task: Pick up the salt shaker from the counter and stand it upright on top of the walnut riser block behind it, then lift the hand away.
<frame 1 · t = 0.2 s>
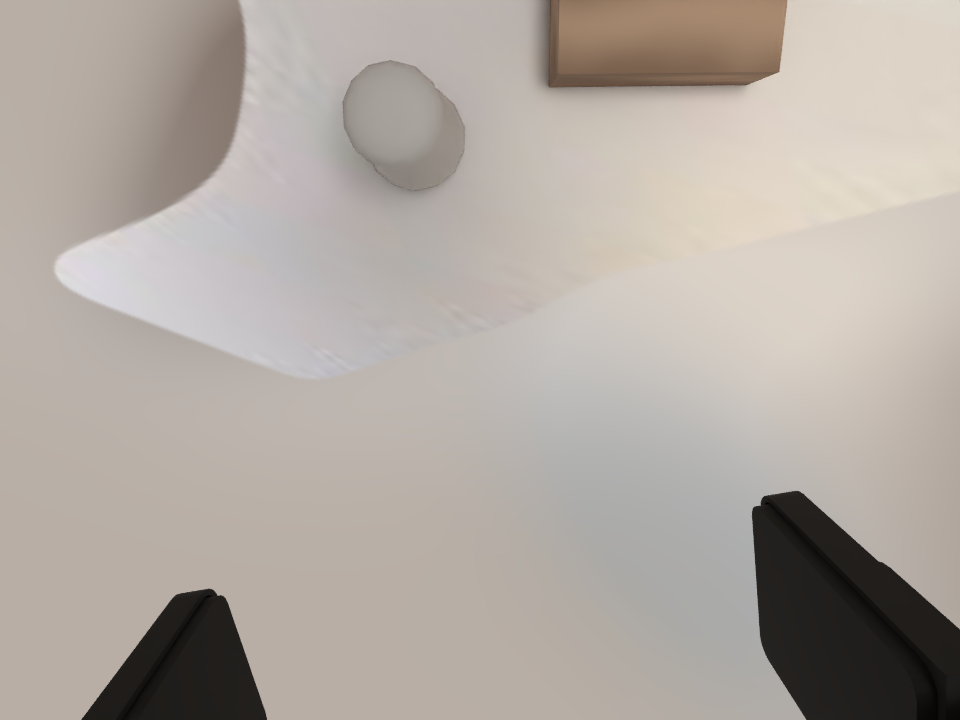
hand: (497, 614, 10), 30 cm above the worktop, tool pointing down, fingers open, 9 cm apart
salt shaker: (418, 141, 37), on the worktop
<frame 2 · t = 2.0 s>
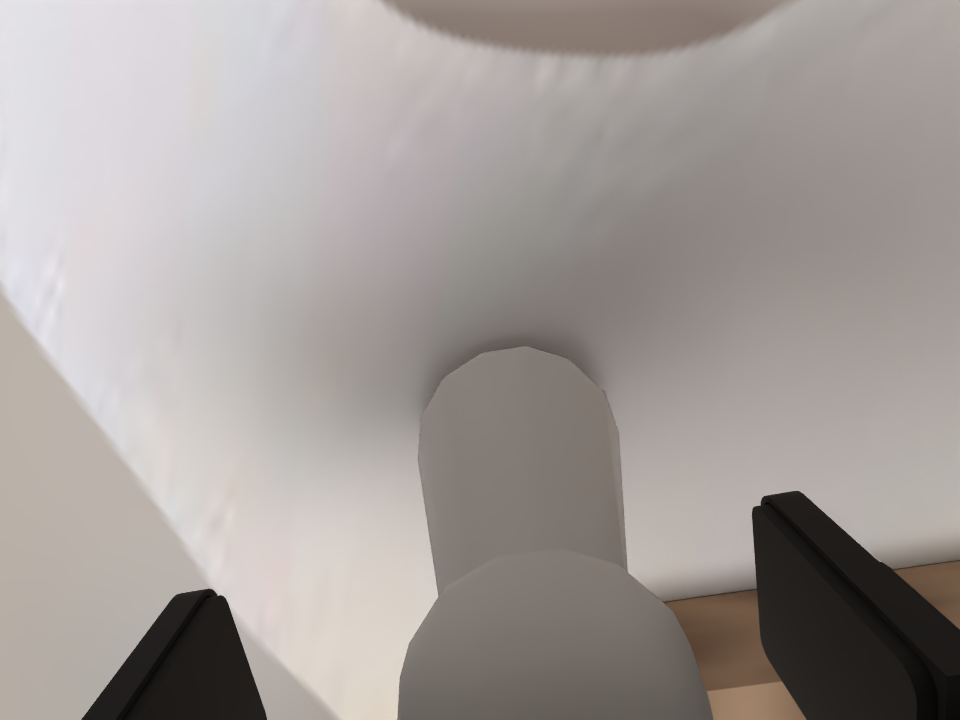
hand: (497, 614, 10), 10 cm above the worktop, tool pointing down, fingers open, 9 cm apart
salt shaker: (514, 413, 20), on the worktop
walnut riser block: (807, 717, 23), on the worktop
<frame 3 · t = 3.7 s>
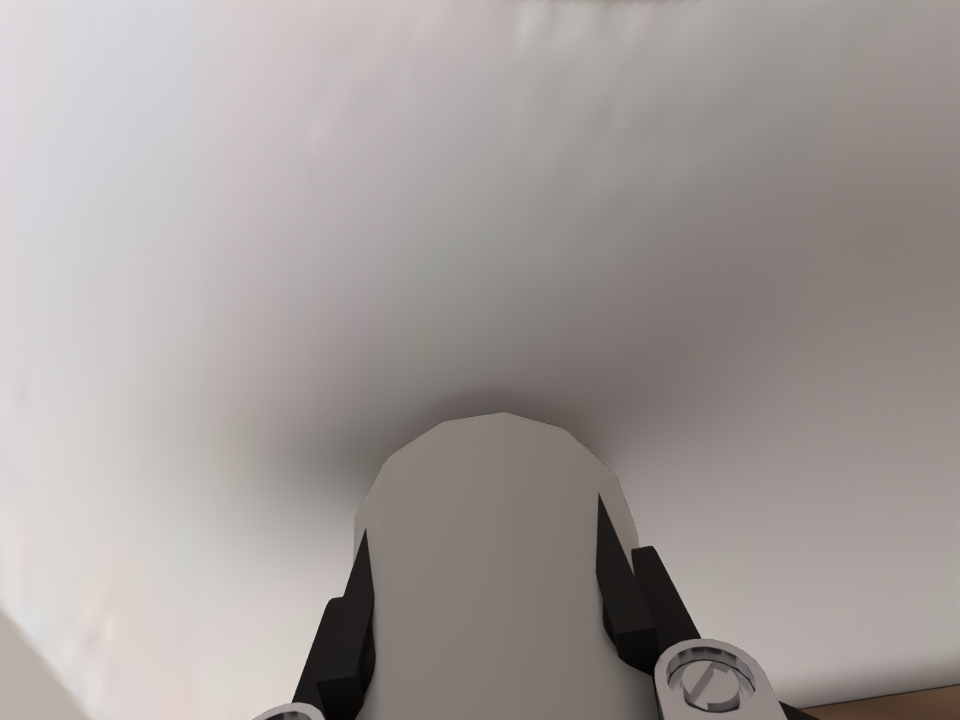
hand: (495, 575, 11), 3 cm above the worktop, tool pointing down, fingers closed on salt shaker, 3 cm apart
salt shaker: (491, 490, 15), on the worktop, touching gripper
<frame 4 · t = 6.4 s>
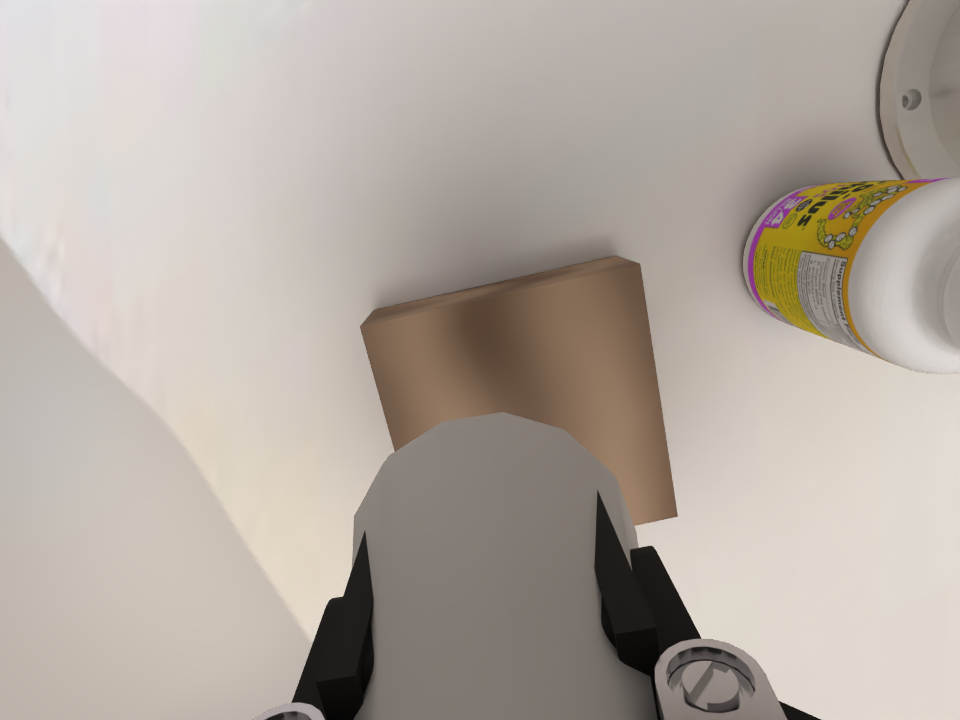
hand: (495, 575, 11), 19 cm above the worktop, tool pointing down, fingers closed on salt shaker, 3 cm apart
salt shaker: (490, 490, 15), point 15 cm above the worktop, touching gripper
walnut riser block: (518, 397, 30), on the worktop
supplement bottle: (802, 255, 29), on the worktop
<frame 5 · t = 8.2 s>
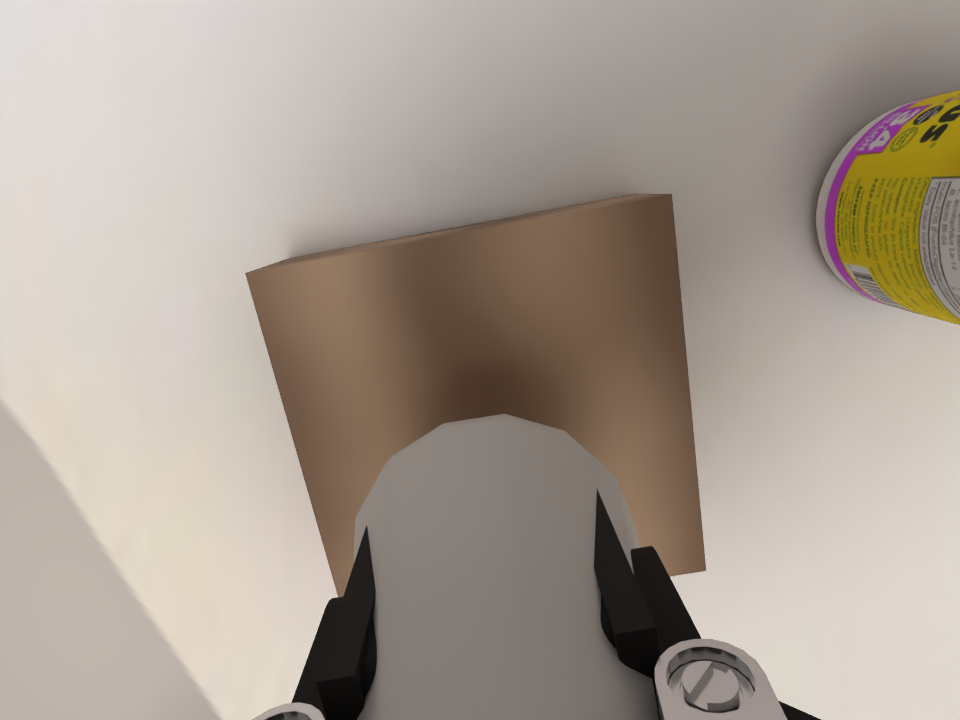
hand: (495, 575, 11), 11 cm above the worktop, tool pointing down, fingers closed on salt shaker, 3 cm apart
salt shaker: (491, 491, 15), point 7 cm above the worktop, touching gripper
walnut riser block: (489, 390, 22), on the worktop
supplement bottle: (900, 205, 20), on the worktop
when the fingers open (9 cm above the worktop, at t = 9.3 s): salt shaker drops 1 cm, resting on walnut riser block.
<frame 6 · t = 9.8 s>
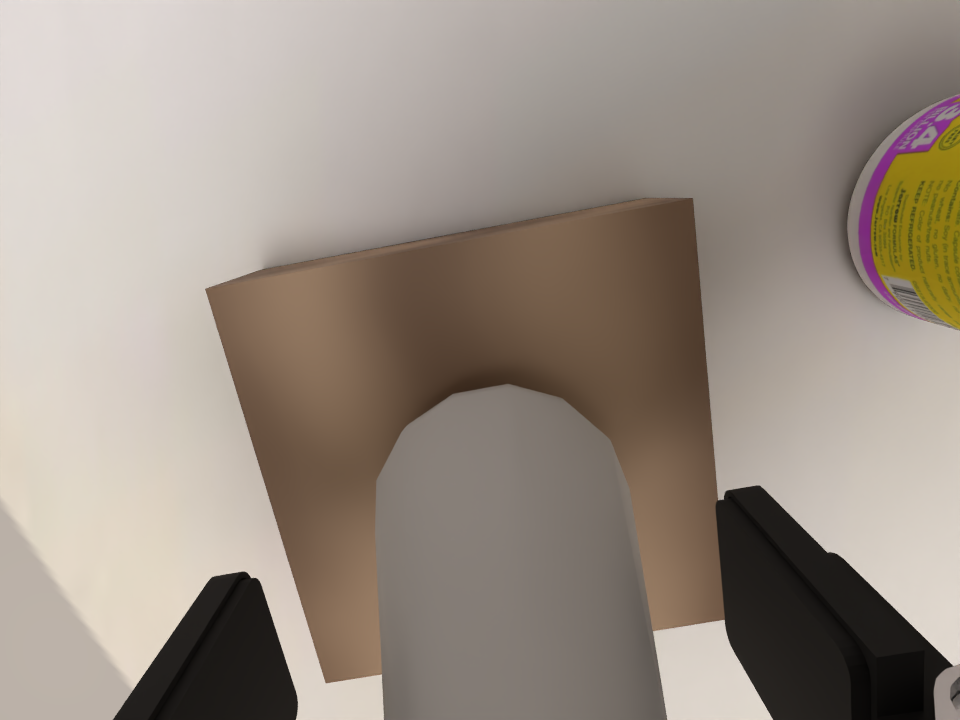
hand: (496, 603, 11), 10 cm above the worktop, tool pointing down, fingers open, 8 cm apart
salt shaker: (496, 461, 16), point 4 cm above the worktop, touching walnut riser block
walnut riser block: (485, 415, 20), on the worktop
supplement bottle: (938, 210, 18), on the worktop
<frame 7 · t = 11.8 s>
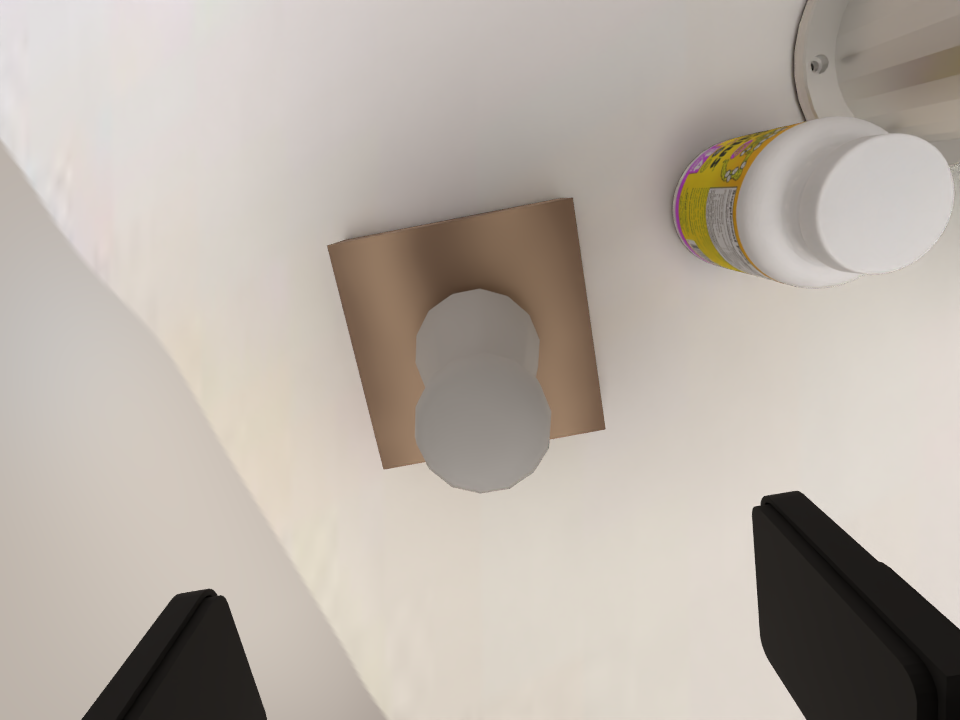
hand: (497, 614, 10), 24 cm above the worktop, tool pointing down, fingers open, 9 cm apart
salt shaker: (476, 338, 30), point 4 cm above the worktop, touching walnut riser block
walnut riser block: (472, 325, 34), on the worktop
supplement bottle: (726, 203, 33), on the worktop
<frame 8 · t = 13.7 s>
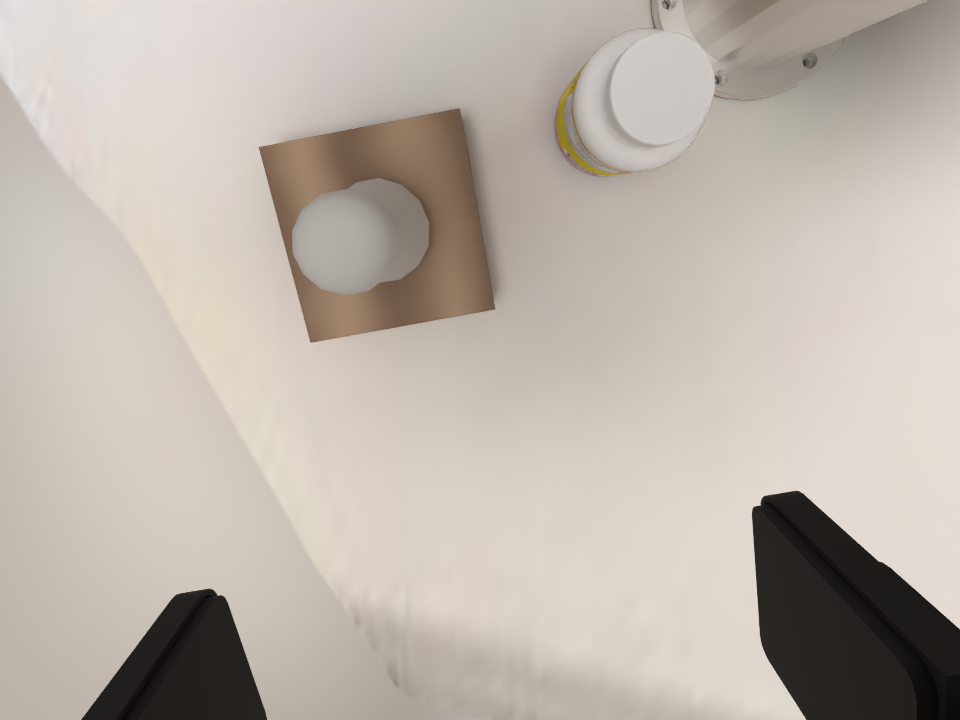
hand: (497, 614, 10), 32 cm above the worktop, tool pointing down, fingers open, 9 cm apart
salt shaker: (385, 229, 36), point 4 cm above the worktop, touching walnut riser block
walnut riser block: (390, 228, 40), on the worktop
supplement bottle: (602, 124, 39), on the worktop
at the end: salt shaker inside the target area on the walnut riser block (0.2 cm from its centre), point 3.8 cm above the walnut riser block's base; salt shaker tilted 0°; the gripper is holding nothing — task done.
